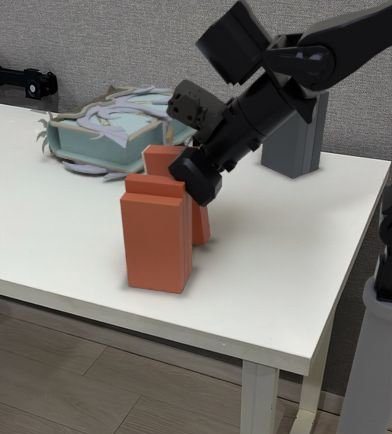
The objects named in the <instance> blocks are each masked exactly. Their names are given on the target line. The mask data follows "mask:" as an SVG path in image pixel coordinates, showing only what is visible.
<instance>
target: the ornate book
mask: <svg viewBox="0 0 392 434" xmlns="http://www.w3.org/2000/svg"><path fill="white" fill-rule="evenodd" d="M142 86H143V87H145V86H148V87H146V88H141V87H142ZM171 92H173V89H172V88H164V87H163V88H161V87H160V88H158V87H156V85H155V84H140V87H135V86H118V87H117V88H115V87H114V85H113V84H110V85H109V86H108V88H107V89H106V92H105V94H102V95H98V96H96V97H94V98H93V99H92V100H91V101H85V102H83V103H80V104H79V105H78V106H76V107H75V108H73V109H71V110H69V111H66V112H62V113H59V112H58V114H57V115H56V116H55V117H54V116H53V113H52V112H51V111H50V110H47V113H48V116H49V120H48V121H47V120H46V119H44V118H41V119H39V120H37V123H42V124H43V128H44V129H45V130H42V131H40V132H39V133H38V135H37V136H36V141H35V143H37V142H38V140H39V139H40V138H43V139H44V140H43V141H42V144H41V151H42V153H43V155H45V147H46V145H48V149H49V153H50V154H51V155H53V156H56V158H57V157H58V158H61V159H66V160H70V161H72V162H73V163H69V162H67V161H64V160H62V161H61V162H62V164H63V166H65V167H66V168H68V169H70V170H72V171H76V172H80V173H86V174H104V175H103V176H102V177H103V179H113V178H122V177H127V176H128V175H129V173H135V174H137V173H138V172H141V171H143V170H144V171H145V169H144V164H143V159H142V154H141V153H142V152H143V151H144V150H145V149H146V148H147V147H148V146H149V145H164V146H178V145H180V144H183V146H189V142H190V140H191V138H193V135H194V134H195V133H196V132H197V130H195V129H193V128H191V127H189V126H186V125H184V124H183V123H181V122H179V121H178V120H176V119H173V118H171V117H170V116H168V115H167V113H166V110H167V107H168V101H169V100H170V99H171V98H172V95H173V93H171Z"/></svg>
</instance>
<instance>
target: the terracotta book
mask: <svg viewBox="0 0 392 434" xmlns="http://www.w3.org/2000/svg"><path fill="white" fill-rule="evenodd" d="M186 147H193V146H189V145H187V146H185V145H173V146H164V145H149V146H148V147H147V148H146V149H145V150H144V151H143V152H142V153H141V154H142V159H143V164H144V173H145V175H154V176H164V177H173V176H172V175H171V174H170V173H169V170H168V166H169V165H170V164H171V162H172V161H173V160H174V159H175V158H176V157H177V155H178V154H179V153H180V152H181V150H184V149H185V148H186ZM195 148H199V147H195ZM210 237H211V227H210V221H209V212H208V205H207V206H205V207H201V206H199V205H198V204H197V203H196V202H195V200H194V199H193V198H192V244H196V245H206V244H207V242H208V241H209V239H210Z"/></svg>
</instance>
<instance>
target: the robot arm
mask: <svg viewBox="0 0 392 434" xmlns="http://www.w3.org/2000/svg"><path fill="white" fill-rule="evenodd" d="M194 46H195V47H196V48H197V50H198V51H199V52H200V54H201V55H202V56H203V57H204V58H205V60H206V61H207V62H208V63H209V64H210V66H211V67H212V68H213V69H214V71H215V72H216V73H217V74H218V75H219V77H220V78H221V79H222V80H223V82H225V84H226V85H227V86H228V85H229V84H231V85H232V86H233V87H234V86H236V85H237V84H238V85H239V86H240V87H242V86H243V85H244V84H245V83H246V82H247V81H249V79H251V77H253V76H254V75H255V74H256V73H257V72H258V71H260V69H263V70H264V71H263V72H262V73H261V74H260V75H259V76H258V77H257V78H255V80H253V82H252V83H251V84H249V86H247V88H246V89H244V90H243V91H242V92H241V93H240V94H239V95H236V96H235V97H234V96H231V98H229V99H228V100H227V101H226V102H224V101H223V100H221V99H219V98H218V97H217V96H216V95H215V94H214V93H212V92H210V91H208V90H207V89H205V88H203V87H202V86H201V85H199V84H197V83H195V82H194V81H191V80H189V79H183V80H181V81H180V82H179V83H178V84H177V85H176V86H175V88H174V91H173V93H172V94H173V95H172V98H171V99H170V100H169V101H168V107H167V110H166V113H167V115H168V116H170V117H171V118H173V119H176V120H178V121H179V122H181V123H183V124H184V125H186V126H189V127H191V128H193V129H195V130H197V132H196V133H195V134H193V135H192V140H191V141H192V143H191V145H192V146H193V147H186V148H185V149H184V150H181V152H180V153H179V154H178V155H177V157H176V158H175V159H174V160H173V161H172V162H171V164H170V165H169V166H168V170H169V173H170V174H171V175H172V176H173V177H174V179H175V180H176V181H180V182H185V191H186V192H187V193H188V194H189V195H190V196H191V197H192V198H193V199H194V200H195V202H196V203H197V204H198V205H199V206H201V207H205V206H207V207H208V205H209V204H210V203H212V202H213V201H214V200H215V199H216V198H217V196H218V194H220V193H219V192H220V191H221V189H222V187H223V175H222V174H221V173H224V172H225V171H226V172H227V173H228V174H230V173H231V172H232V171H233V170H235V169H236V167H237V165H238V164H239V162H240V161H241V160H242V159H243V158H245V157H246V156H247V155H248V154H250V153H251V152H252V153H255V152H256V151H257V150H258V149H260V147H262V143H263V140H264V139H266V138H267V137H268V136H269V135H270V134H271V133H273V132H274V131H275V130H276V129H277V128H279V127H280V126H281V125H282V124H283V123H284V122H286V121H287V120H288V119H289V118H290V117H292V116H293V115H294V114H295V113H296V112H298V113H299V115H300V116H301V117H302V119H303V120H304V121H305V122H306V124H311V123H312V121H313V119H314V116H315V113H316V103H317V101H318V98H319V94H318V93H310V92H307V91H306V90H305V88H306V89H309V90H311V91H313V92H320V91H324V90H326V91H328V90H329V89H331V88H333V87H335V86H336V85H337V84H339V83H340V82H342V81H344V80H345V79H347V78H348V77H349V76H351V75H352V74H354V73H356V72H357V71H358V70H360V69H361V68H362V67H364V66H365V65H366V64H367V63H369V61H371V60H372V59H374V58H375V57H376V56H378V55H379V54H381V53H382V52H384V51H385V50H387V49H388V48H391V47H392V0H387V1H384V2H382V3H380V4H379V5H376V6H373V7H369V8H366V9H361V10H356V11H352V12H346V13H344V14H343V13H342V14H339V15H336V16H332V17H329V18H326V19H322V20H319V21H316V22H314V23H313V24H311V26H308V28H307V29H306V30H305V31H302V32H291V33H281V34H276V35H274V37H272V36H271V34H270V33H269V32H268V31H267V30H266V28H265V27H264V26H263V24H262V23H261V22H260V20H259V19H258V18H257V17H256V15H255V13H254V11H253V9H252V6H251V5H250V4H249V3H248V1H247V0H236V2H235V3H234V4H233V5H232V6H231V7H230V8H229V9H228V10H227V11H226V12H225V13H224V14H223V15H221V17H219V18H218V19H217V20H215V21H214V22H213V23H212V24H211V25H210V26H209V27H208V28H207V29H206V30H205V31H204V33H203V34H202V35H201V36H200V37H199V38H198V39H197V41H196V42H195V43H194ZM195 147H199V148H195ZM378 220H379V221H378V235H379V238H380V240H381V242H382V243H383V245H385V248H384V252H380V253H379V254H378V259H377V262H376V266H375V270H374V274H373V275H374V279H373V288H374V289H376V300H377V301H381V302H389V303H392V183H390V185H388V186H386V187H384V188H383V189H382V199H381V202H380V207H379V219H378Z"/></svg>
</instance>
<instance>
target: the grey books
mask: <svg viewBox="0 0 392 434" xmlns="http://www.w3.org/2000/svg"><path fill="white" fill-rule="evenodd" d="M305 90H306V91H307V92H310V93H318V94H319V98H318V101H317V103H316V113H315V116H314V119H313V121H312V123H311V124H306V122H305V121H304V120H303V119H302V117H301V116H300V115H299V113H298V112H296V113H295V114H294V115H293V116H292V117H290V118H289V119H288V120H287V121H286V122H284V123H283V124H282V125H281V126H280V127H279V128H277V129H276V130H275V131H274V132H273V133H271V134H270V135H269V136H268V137H267V138H266V139H264V140H263V142H262V144H261V159H260V165H262V166H264V167H267V168H269V169H271V170H273V171H275V172H277V173H279V174H281V175H284V176H286V177H288V178H290V179H295V178H299V177H301V176H303V175H306V174H308V173H312V172H314V171H316V170H319V169H320V168H319V167H320V161H321V155H322V147H323V140H324V134H325V126H326V120H327V119H326V118H327V111H328V105H329V98H330V91H328V90H324V91H320V92H313V91H311V90H309V89H306V88H305Z"/></svg>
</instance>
